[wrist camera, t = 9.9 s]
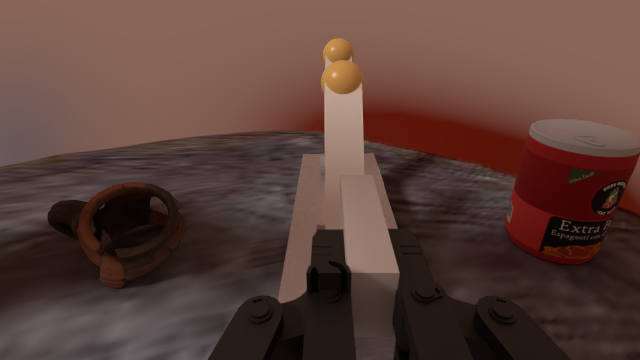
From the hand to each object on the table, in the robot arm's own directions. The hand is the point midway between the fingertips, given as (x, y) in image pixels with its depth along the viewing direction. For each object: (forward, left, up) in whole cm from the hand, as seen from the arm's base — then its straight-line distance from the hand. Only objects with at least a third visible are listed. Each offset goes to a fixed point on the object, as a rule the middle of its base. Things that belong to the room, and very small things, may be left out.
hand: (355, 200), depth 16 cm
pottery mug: (-20, +11, -13) cm, 26 cm away
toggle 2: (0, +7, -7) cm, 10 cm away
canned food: (+20, +13, -12) cm, 27 cm away
